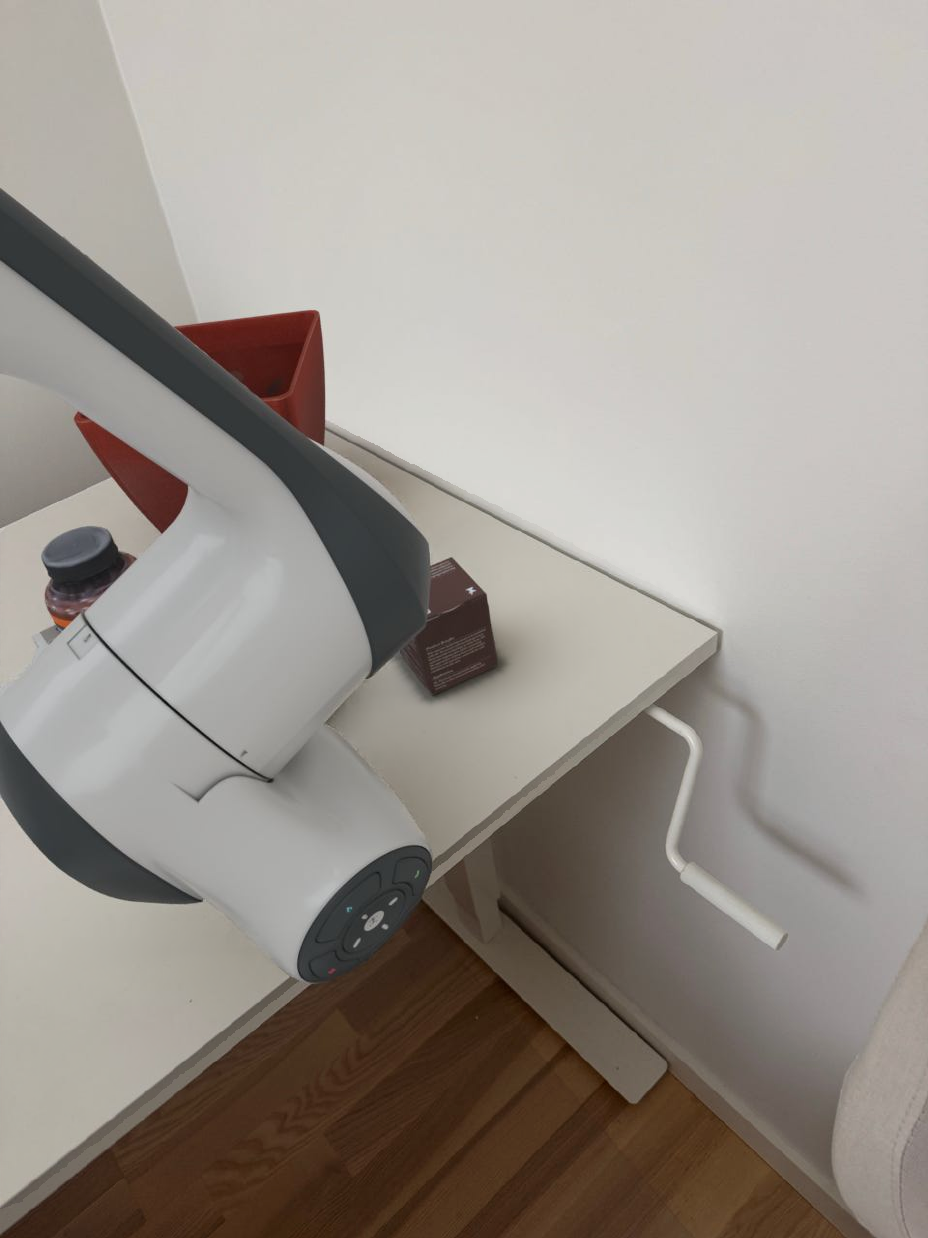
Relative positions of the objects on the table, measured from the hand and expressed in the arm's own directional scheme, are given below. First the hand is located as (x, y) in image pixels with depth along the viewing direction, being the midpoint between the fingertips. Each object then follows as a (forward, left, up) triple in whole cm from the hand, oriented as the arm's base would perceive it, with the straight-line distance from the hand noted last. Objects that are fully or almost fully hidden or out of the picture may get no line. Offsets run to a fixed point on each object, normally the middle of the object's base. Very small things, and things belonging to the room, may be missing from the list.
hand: (104, 610), depth 58 cm
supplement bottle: (0, -1, -6) cm, 6 cm away
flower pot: (+32, +19, -17) cm, 41 cm away
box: (+19, -11, -17) cm, 27 cm away
